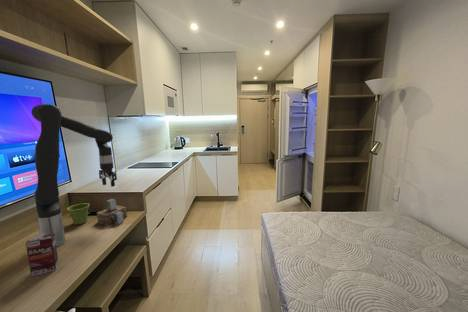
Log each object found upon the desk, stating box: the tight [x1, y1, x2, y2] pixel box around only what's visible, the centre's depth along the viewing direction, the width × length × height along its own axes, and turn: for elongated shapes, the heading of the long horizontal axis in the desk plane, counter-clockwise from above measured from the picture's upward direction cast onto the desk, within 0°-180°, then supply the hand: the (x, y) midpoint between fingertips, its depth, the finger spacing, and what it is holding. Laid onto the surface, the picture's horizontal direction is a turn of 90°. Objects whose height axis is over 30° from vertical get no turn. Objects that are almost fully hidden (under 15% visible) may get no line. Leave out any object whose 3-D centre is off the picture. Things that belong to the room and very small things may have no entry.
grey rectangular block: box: [113, 211, 124, 225], centre depth 134 cm, size 4×4×7 cm
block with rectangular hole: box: [96, 204, 128, 226], centre depth 139 cm, size 14×10×7 cm
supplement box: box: [25, 233, 59, 277], centre depth 90 cm, size 9×5×16 cm, turn 118°
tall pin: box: [105, 198, 117, 222], centre depth 138 cm, size 4×4×14 cm
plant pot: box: [66, 202, 91, 226], centre depth 135 cm, size 12×12×11 cm
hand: (108, 185), depth 136 cm, fingers open, 8 cm apart
